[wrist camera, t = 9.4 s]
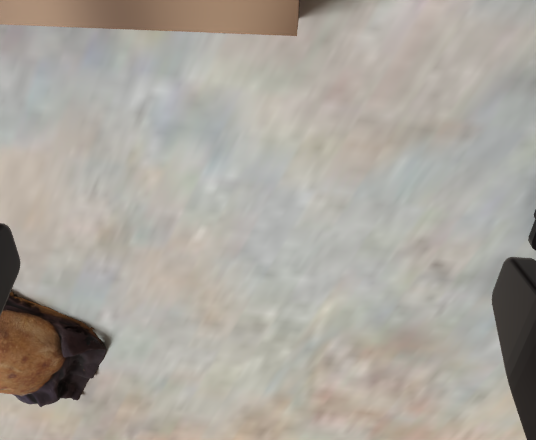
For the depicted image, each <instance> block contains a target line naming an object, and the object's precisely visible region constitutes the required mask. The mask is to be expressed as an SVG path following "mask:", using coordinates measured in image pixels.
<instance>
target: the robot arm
mask: <svg viewBox="0 0 536 440" xmlns="http://www.w3.org/2000/svg"><path fill="white" fill-rule="evenodd" d="M534 217H535V222H534V224H533V227H532V230H531V232H530V235H529V239H528V241H529V243H530V245H531V246H532V248H533V249H534V250H536V210H535V213H534ZM19 269H20V258H19V254H18V251H17V248H16V245H15V242H14V238H13V235H12V232H11V230H10V228H9V227H8V226H7V225H5V224H2V223H0V315H1V313H2V311H3V308H4V306H5V304H6V301H7V299H8V297H9V294H10V292H11V289H12V287H13V285H14V282H15V280H16V278H17V275H18V273H19ZM492 306H493V311H494V316H495V321H496V326H497V331H498V336H499V341H500V346H501V351H502V356H503V361H504V366H505V370H506V375H507V379H508V383H509V386H510V389H511V393H512V396H513V399H514V402H515V405H516V408H517V411H518V414H519V417H520V420H521V423H522V426H523V429H524V432H525V435H526V438H527V440H536V261H535V260H534V259H531V258H519V257H510V258H508V259H506V260H505V262H504V264H503V266H502V269H501V271H500V274H499V277H498V279H497V282H496V285H495V287H494V290H493V294H492Z"/></svg>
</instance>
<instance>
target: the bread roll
mask: <svg viewBox="0 0 536 440" xmlns="http://www.w3.org/2000/svg"><path fill="white" fill-rule="evenodd" d="M92 329H94V328H92V327H91V328H89V327H88V326H87V325H86V324H84V323H82V322H81V321H78V320H75V319H73V318H71V317H68V316H66V315H64V314H61V313H58V312H57V311H55V310H53V309H50V308H48V307H44V306H41V305H39V304H36V303H34V302H31V301H28V300H26V299H23V298H20V297H19V298H18V297H15V296H14V294H13V292H10V294H9V297H8V299H7V301H6V304H5V306H4V308H3V311H2V313H1V315H0V393H6V394H12V395H14V396H16V397H17V398H18V399H19V400H20V401H22V402H24V403H27V404H37V403H38V404H39V406H40V407H42V406H44V405H47V404H51V403H54V402H57V401H58V400H59V399H60V398H72V399H73V400H78V399H79V398H80V395H81V394H82V392H83V390H84V388H85V386H86V383H87V382H88V380H89V379H90V378H93V377H94V374H95V373H96V370H97V369H98V367H99V364H100V363H101V362H102V360H103V359H104V357H105V353H106V348H105V347H104V345H103V343H102V342H101V340H100V339H99V338H98V337H97V336H96V334H95V333H94V332H93V330H92ZM94 330H95V329H94Z"/></svg>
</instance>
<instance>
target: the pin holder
mask: <svg viewBox="0 0 536 440" xmlns="http://www.w3.org/2000/svg"><path fill="white" fill-rule="evenodd" d="M298 18H299V0H0V24H6V25H31V26H57V27H82V28H108V29H134V30H159V31H185V32H211V33H236V34H262V35H287V36H297V29H298Z"/></svg>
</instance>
